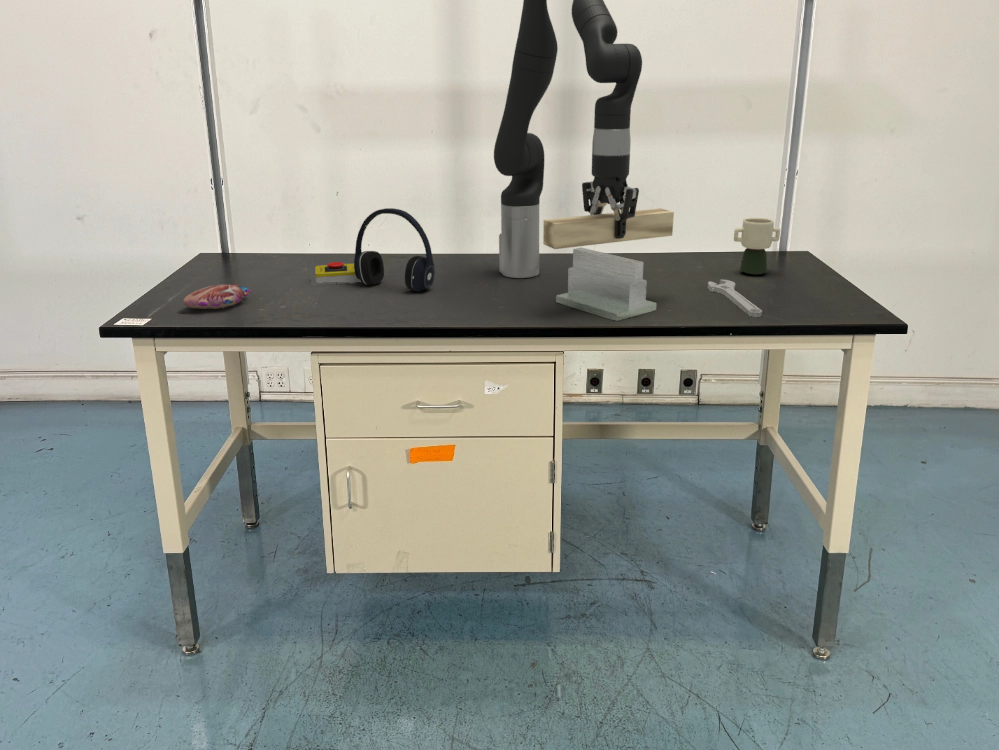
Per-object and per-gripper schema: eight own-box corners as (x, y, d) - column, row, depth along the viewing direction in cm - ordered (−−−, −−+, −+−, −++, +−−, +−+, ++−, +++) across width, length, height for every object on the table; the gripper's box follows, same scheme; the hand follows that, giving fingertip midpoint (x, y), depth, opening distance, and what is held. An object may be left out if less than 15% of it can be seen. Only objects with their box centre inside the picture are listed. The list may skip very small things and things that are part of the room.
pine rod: (543, 244, 163) (543, 219, 161) (658, 231, 174) (659, 208, 172) (554, 249, 159) (555, 223, 157) (672, 235, 169) (673, 211, 168)
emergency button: (308, 261, 197) (370, 257, 199) (310, 278, 198) (371, 274, 201) (307, 269, 188) (372, 266, 191) (309, 288, 190) (373, 283, 192)
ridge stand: (555, 302, 174) (556, 252, 170) (595, 292, 181) (596, 244, 177) (616, 321, 161) (618, 267, 157) (656, 309, 168) (659, 258, 164)
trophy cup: (770, 269, 199) (776, 217, 194) (779, 277, 192) (786, 223, 187) (726, 270, 199) (731, 217, 194) (734, 277, 192) (739, 223, 187)
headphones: (439, 288, 186) (436, 209, 179) (423, 296, 180) (419, 214, 174) (368, 279, 195) (363, 203, 188) (351, 286, 189) (345, 208, 182)
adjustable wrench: (763, 319, 163) (764, 311, 162) (732, 320, 163) (733, 311, 162) (731, 286, 186) (731, 278, 186) (703, 286, 186) (704, 279, 186)
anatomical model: (231, 320, 169) (262, 287, 181) (222, 296, 166) (253, 265, 178) (187, 323, 172) (220, 291, 184) (177, 300, 169) (211, 269, 181)
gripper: (651, 153, 157) (646, 238, 163) (598, 147, 167) (596, 228, 173) (624, 156, 152) (620, 244, 158) (572, 150, 163) (570, 233, 169)
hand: (607, 235), depth 166 cm, fingers closed on pine rod, 5 cm apart
